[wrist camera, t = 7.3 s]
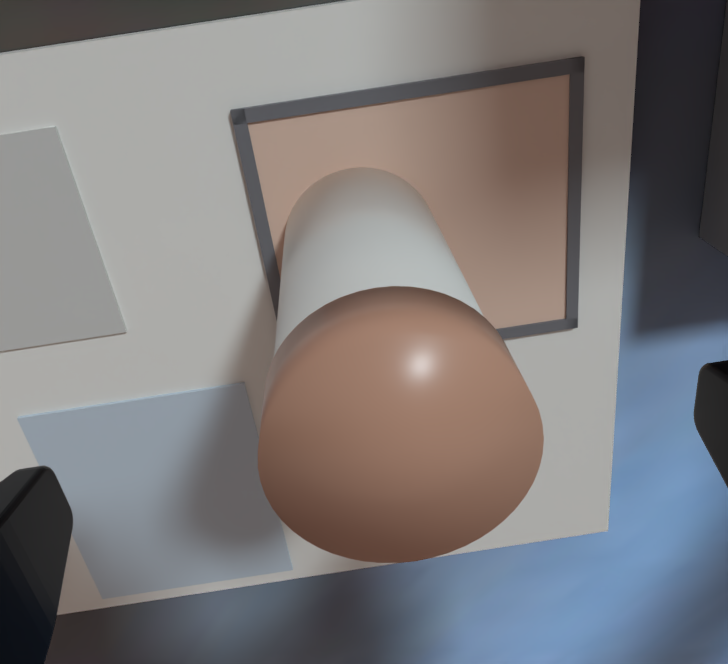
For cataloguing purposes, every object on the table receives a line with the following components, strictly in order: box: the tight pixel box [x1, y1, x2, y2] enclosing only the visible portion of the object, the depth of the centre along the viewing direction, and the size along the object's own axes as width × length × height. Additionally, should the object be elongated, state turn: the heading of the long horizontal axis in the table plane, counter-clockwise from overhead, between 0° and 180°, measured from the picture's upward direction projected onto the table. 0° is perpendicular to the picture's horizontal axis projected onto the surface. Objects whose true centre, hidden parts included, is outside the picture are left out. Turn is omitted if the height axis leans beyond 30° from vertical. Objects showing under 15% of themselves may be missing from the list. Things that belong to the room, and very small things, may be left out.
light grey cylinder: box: [258, 167, 544, 563], centre depth 12 cm, size 4×4×8 cm
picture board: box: [0, 0, 640, 615], centre depth 18 cm, size 20×16×1 cm
